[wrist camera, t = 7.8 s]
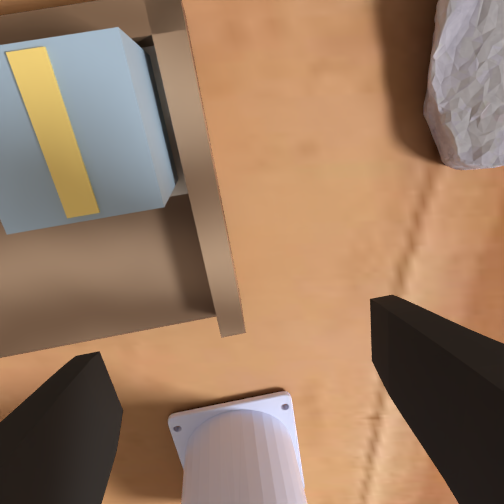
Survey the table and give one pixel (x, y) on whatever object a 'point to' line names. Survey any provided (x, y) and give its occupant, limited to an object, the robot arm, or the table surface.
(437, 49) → the stone block
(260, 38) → the table surface
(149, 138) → the cube
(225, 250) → the tray
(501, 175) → the table surface
